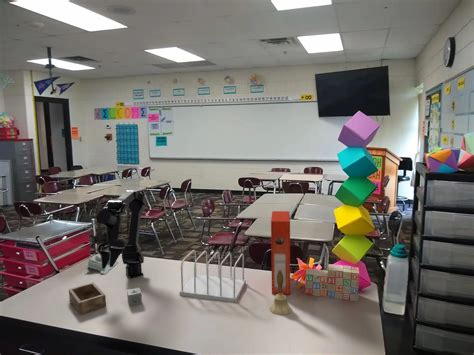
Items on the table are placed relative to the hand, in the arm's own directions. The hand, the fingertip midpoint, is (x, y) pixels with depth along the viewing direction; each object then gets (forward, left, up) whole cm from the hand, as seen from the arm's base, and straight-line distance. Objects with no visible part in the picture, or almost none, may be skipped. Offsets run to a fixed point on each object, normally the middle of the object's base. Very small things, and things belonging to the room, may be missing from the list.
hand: (107, 267), depth 139 cm
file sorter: (-39, +18, -16) cm, 46 cm away
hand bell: (-49, +49, -16) cm, 71 cm away
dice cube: (-8, +6, -16) cm, 19 cm away
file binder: (-64, +35, -15) cm, 75 cm away
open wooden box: (+7, -6, -15) cm, 18 cm away
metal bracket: (-9, -39, -16) cm, 44 cm away
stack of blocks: (-74, +55, -16) cm, 93 cm away
